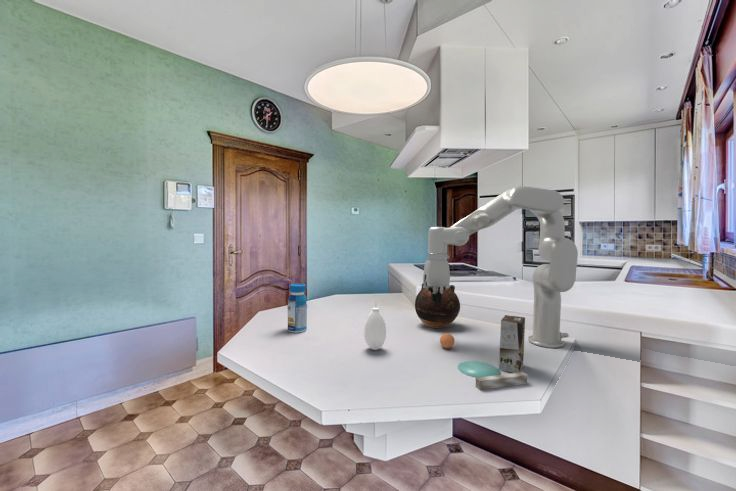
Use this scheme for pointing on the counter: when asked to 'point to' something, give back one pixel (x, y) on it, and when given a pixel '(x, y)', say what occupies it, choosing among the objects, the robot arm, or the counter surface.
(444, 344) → the ball
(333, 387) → the counter surface
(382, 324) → the sauce bottle
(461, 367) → the teal disc
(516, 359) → the coffee box
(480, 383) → the strip
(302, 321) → the beverage bottle
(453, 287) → the ceramic vessel
